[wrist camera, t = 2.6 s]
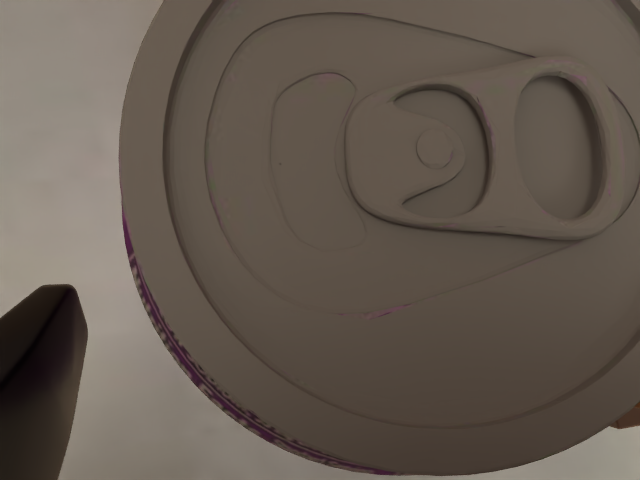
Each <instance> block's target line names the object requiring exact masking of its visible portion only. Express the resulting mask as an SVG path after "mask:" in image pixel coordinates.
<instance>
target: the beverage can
mask: <svg viewBox="0 0 640 480" xmlns="http://www.w3.org/2000/svg"><path fill="white" fill-rule="evenodd" d="M119 175H120V188H121V196H122V220H123V229H124V237H125V244H126V249H127V254H128V259H129V263H130V267H131V271H132V274H133V277H134V280H135V284H136V287H137V290H138V292H139V295H140V297H141V300H142V303H143V305H144V308H145V310H146V312H147V314H148V316H149V318H150V320H151V322H152V324H153V326H154V328H155V330H156V331H157V333H158V335H159V336H160V338H161V340H162V341H163V343H164V345H165V346H166V348H167V349H168V351H169V352H170V354H171V355H172V357H173V358H174V359H175V361H176V362H177V364H178V365H179V366H180V368H181V369H182V370H183V371H184V372H185V373H186V375H187V376H188V377H189V378H190V379H191V381H192V382H193V383H194V384H195V385H196V386H197V387H198V388H199V389H200V390H201V391H202V392H203V393H204V394H205V395H206V396H207V397H208V398H209V399H210V400H211V401H212V402H213V403H214V404H215V405H217V406H218V407H219V408H220V409H221V410H222V411H224V412H225V413H226V414H227V415H228V416H230V417H231V418H233V419H234V420H235V421H237V422H238V423H239V424H241V425H242V426H244V427H245V428H246V429H248V430H250V431H251V432H253V433H254V434H256V435H258V436H259V437H261V438H263V439H264V440H266V441H268V442H270V443H272V444H274V445H276V446H278V447H280V448H282V449H284V450H286V451H288V452H290V453H293V454H295V455H298V456H300V457H303V458H305V459H308V460H311V461H314V462H318V463H321V464H324V465H327V466H331V467H335V468H340V469H344V470H349V471H354V472H361V473H369V474H377V475H398V476H400V475H432V476H452V475H471V474H479V473H487V472H494V471H499V470H504V469H509V468H513V467H518V466H521V465H525V464H528V463H531V462H535V461H538V460H541V459H544V458H547V457H549V456H552V455H554V454H557V453H559V452H562V451H564V450H567V449H569V448H571V447H573V446H575V445H577V444H579V443H581V442H583V441H585V440H587V439H588V438H590V437H592V436H593V435H595V434H597V433H598V432H600V431H602V430H603V429H605V428H607V427H608V426H610V425H611V424H612V423H614V422H615V421H616V420H618V419H619V418H621V417H622V416H623V415H625V414H626V413H627V412H629V411H630V410H631V409H632V408H633V407H634V406H636V405H637V404H638V403H639V402H640V0H164V2H163V3H162V5H161V7H160V8H159V10H158V12H157V13H156V15H155V17H154V19H153V20H152V22H151V25H150V27H149V29H148V31H147V33H146V35H145V37H144V39H143V41H142V44H141V46H140V49H139V51H138V54H137V57H136V59H135V62H134V65H133V68H132V72H131V75H130V79H129V82H128V85H127V90H126V95H125V100H124V105H123V110H122V118H121V126H120V137H119Z"/></svg>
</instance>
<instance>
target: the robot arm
mask: <svg viewBox="0 0 640 480" xmlns="http://www.w3.org/2000/svg"><path fill="white" fill-rule="evenodd" d="M87 340H88V329H87V323H86V320H85V317H84V313H83V310H82V307H81V304H80V300H79V297H78V294H77V291H76V289H75V288H74V287H73V286H72V285H70V284H53V285H43V286H41V287H39V288H38V289H36V290H35V291H34V292H33V293H31V294H30V295H29V296H27V297H26V298H25V299H24V300H22V301H21V302H20V303H19V304H17V305H16V306H15V307H14V308H12V309H11V310H10V311H9V312H7V313H6V314H5V315H4V316H2V317H1V318H0V480H58V476H59V473H60V470H61V467H62V463H63V460H64V457H65V453H66V450H67V446H68V442H69V439H70V434H71V429H72V424H73V419H74V414H75V408H76V402H77V397H78V391H79V385H80V380H81V374H82V369H83V363H84V357H85V352H86V346H87Z"/></svg>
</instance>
